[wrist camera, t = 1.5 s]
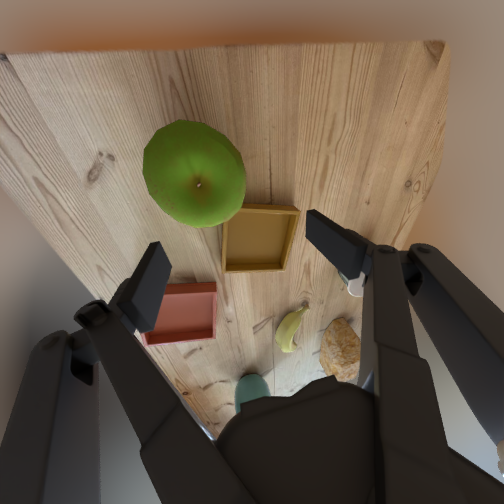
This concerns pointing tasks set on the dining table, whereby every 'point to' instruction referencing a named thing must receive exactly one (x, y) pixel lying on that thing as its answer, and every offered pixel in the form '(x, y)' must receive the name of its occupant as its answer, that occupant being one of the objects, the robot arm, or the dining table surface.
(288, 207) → the ochre tray
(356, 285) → the food container
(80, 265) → the dining table surface
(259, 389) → the vase
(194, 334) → the clay tray
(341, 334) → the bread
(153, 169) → the apple
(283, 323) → the banana
